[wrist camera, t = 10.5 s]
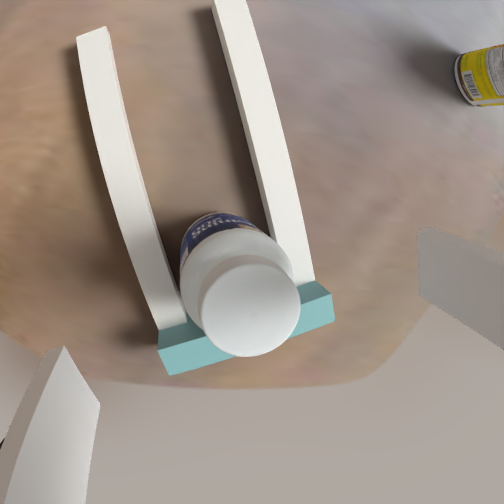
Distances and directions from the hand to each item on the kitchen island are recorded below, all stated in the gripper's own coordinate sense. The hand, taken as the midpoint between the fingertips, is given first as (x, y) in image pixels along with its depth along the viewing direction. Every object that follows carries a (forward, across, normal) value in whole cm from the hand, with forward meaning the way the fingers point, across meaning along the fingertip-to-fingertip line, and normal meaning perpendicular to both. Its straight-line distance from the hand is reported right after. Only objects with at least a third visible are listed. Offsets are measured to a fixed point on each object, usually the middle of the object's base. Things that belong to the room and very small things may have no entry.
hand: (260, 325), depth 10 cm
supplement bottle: (+12, +27, +9) cm, 31 cm away
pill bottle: (+12, 0, -1) cm, 12 cm away
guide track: (+12, 0, +5) cm, 13 cm away
